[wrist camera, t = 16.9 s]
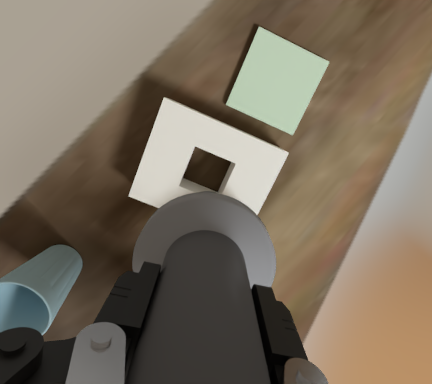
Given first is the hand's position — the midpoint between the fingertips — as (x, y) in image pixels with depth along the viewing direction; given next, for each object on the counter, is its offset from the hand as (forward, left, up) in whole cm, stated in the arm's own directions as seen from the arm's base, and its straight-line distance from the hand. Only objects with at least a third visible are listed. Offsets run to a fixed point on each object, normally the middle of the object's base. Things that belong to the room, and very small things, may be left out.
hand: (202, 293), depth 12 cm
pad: (-3, -13, -25) cm, 28 cm away
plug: (0, 0, -8) cm, 8 cm away
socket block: (0, 0, -25) cm, 25 cm away
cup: (+14, +21, -26) cm, 36 cm away
